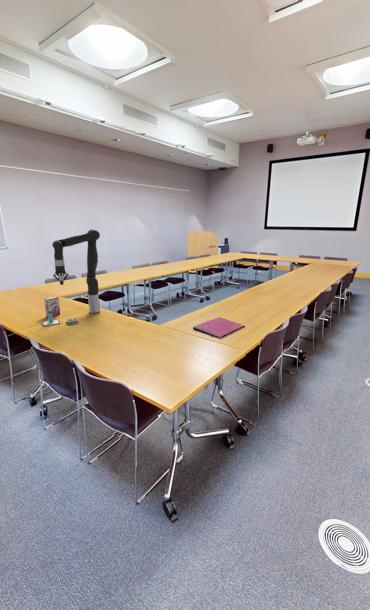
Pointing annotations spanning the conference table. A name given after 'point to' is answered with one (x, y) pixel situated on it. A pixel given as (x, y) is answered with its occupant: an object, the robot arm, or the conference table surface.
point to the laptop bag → (217, 327)
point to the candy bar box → (52, 305)
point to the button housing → (72, 321)
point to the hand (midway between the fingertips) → (61, 284)
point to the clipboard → (51, 323)
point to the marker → (50, 316)
